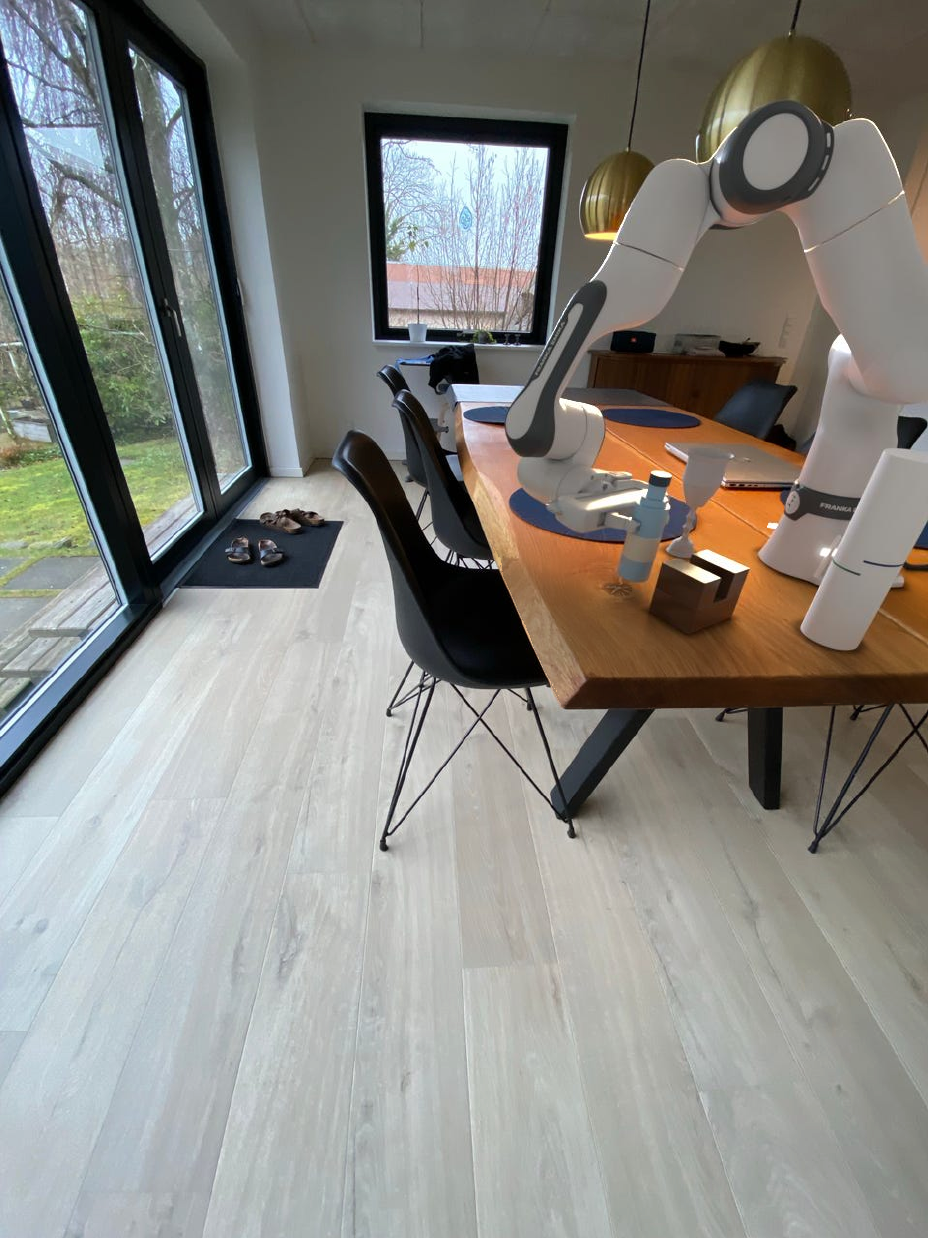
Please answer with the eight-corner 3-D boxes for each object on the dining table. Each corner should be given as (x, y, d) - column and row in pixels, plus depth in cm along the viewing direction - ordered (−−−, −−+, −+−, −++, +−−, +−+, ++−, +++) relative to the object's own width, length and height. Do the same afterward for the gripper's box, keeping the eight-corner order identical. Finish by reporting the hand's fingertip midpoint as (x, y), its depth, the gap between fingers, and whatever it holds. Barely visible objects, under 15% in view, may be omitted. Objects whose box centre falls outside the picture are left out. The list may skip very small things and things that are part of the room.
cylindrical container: (859, 656, 69) (965, 468, 56) (799, 638, 72) (885, 456, 59) (857, 632, 74) (954, 455, 61) (801, 616, 78) (882, 445, 64)
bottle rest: (648, 611, 77) (662, 562, 72) (691, 596, 81) (706, 549, 77) (687, 634, 72) (705, 583, 67) (731, 617, 76) (750, 568, 72)
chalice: (700, 548, 97) (732, 450, 88) (702, 563, 92) (735, 460, 82) (660, 541, 99) (686, 445, 90) (659, 555, 94) (687, 454, 84)
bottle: (618, 591, 84) (587, 508, 85) (639, 584, 86) (609, 504, 88) (690, 561, 71) (652, 465, 73) (713, 555, 74) (676, 461, 75)
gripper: (542, 484, 81) (606, 514, 72) (633, 470, 91) (700, 494, 81) (537, 523, 85) (597, 556, 75) (625, 505, 94) (689, 532, 85)
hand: (652, 524), depth 78 cm, fingers closed on bottle, 5 cm apart
